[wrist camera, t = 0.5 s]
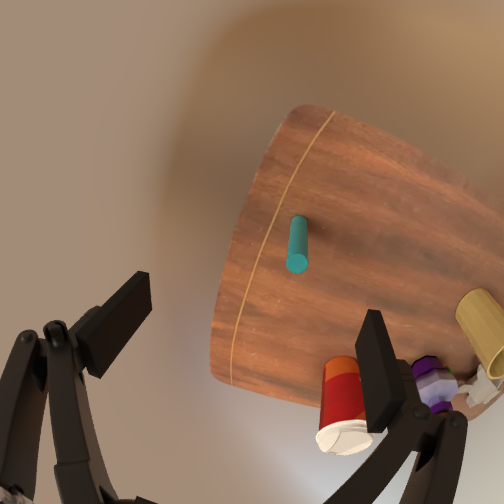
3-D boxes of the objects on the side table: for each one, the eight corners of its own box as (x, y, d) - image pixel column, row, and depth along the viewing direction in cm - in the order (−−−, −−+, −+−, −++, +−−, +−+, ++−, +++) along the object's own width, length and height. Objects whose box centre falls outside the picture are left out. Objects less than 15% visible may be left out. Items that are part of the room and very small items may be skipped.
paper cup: (347, 389, 43) (351, 460, 30) (307, 376, 43) (303, 451, 30) (375, 359, 40) (390, 434, 27) (334, 343, 40) (339, 423, 27)
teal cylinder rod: (289, 216, 34) (283, 255, 24) (305, 213, 33) (306, 251, 23) (293, 231, 34) (288, 275, 24) (308, 228, 34) (310, 271, 24)
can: (457, 294, 33) (494, 347, 23) (492, 283, 32) (533, 330, 21) (453, 330, 36) (481, 385, 25) (486, 320, 34) (519, 369, 23)
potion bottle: (454, 359, 38) (478, 411, 27) (418, 390, 41) (433, 443, 30) (428, 340, 37) (453, 397, 26) (390, 374, 41) (403, 433, 30)
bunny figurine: (478, 415, 38) (452, 405, 35) (471, 397, 42) (443, 383, 39) (513, 385, 34) (495, 368, 31) (503, 368, 38) (482, 348, 35)
